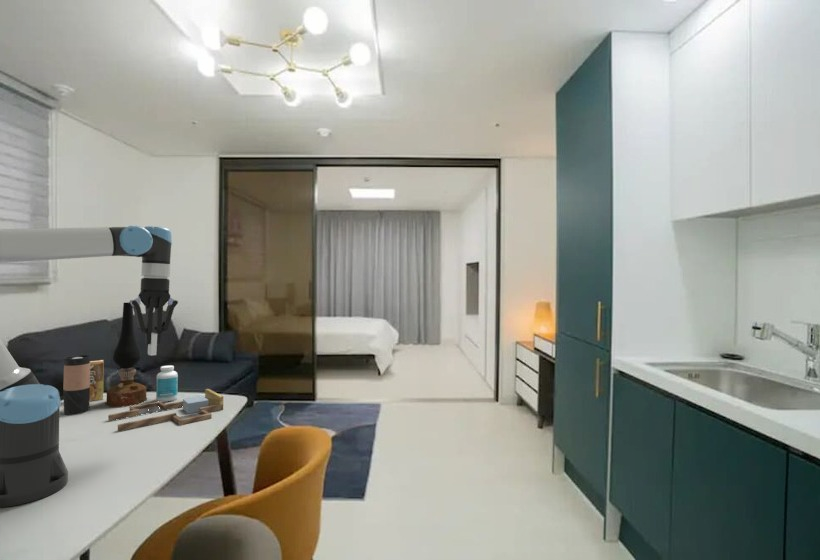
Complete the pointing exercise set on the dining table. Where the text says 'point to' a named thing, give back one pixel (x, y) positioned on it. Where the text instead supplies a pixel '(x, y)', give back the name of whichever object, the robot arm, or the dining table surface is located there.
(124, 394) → the oil lamp
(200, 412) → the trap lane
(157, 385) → the pill bottle
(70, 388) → the travel mug
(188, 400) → the slate block
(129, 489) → the dining table surface
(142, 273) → the robot arm
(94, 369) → the candy box
